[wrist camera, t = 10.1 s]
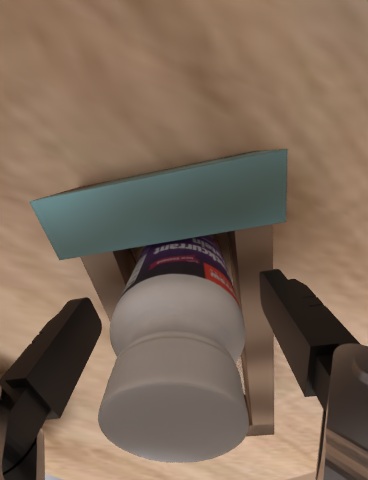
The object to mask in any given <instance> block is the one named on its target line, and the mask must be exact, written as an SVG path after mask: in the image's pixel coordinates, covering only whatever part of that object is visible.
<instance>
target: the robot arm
mask: <svg viewBox="0 0 368 480" xmlns="http://www.w3.org/2000/svg"><path fill="white" fill-rule="evenodd" d="M259 278H260V300H261V305H262V309H263V312H264V314H265V316H266V318H267V320H268V322H269V324H270V326H271V328H272V330H273V332H274V335H275V337H276V339H277V341H278V343H279V345H280V347H281V349H282V351H283V353H284V355H285V357H286V359H287V361H288V363H289V365H290V367H291V369H292V371H293V373H294V375H295V378H296V380H297V382H298V384H299V386H300V388H301V390H302V392H303V394H304V396H305V397H309V396H317V398H318V400H319V402H320V403H321V405H322V407H323V414H322V423H321V432H320V441H319V450H318V459H317V468H316V477H315V480H368V346H364V345H361V344H360V343H359V342H358V341H357V340H356V339H355V338H354V337H353V336H352V335H351V333H350V332H349V331H348V330H347V329H346V328H345V327H344V326H343V325H342V324H341V323H340V321H339V320H338V319H337V318H336V317H335V316H334V315H333V314H332V313H331V312H330V311H329V309H328V308H327V307H326V306H324V305H323V303H322V302H321V301H320V300H319V299H318V297H316V295H315V294H314V293H313V292H312V291H311V290H310V289H309V288H308V287H307V286H306V285H305V284H303V283H301V282H299V281H298V280H296V279H290V280H288V279H287V278H286V277H285V276H284V274H283V273H282V272H281V271H280V270H279V269H274V270H268V271H261V272H260V274H259ZM101 330H102V324H101V320H100V318H99V316H98V314H97V312H96V310H95V308H94V306H93V304H92V302H91V300H90V299H89V298H80V299H73V300H70V301H68V302H67V304H66V305H65V306H64V307H63V309H62V310H61V311H60V312H59V313H58V314H57V315H56V316H55V317H54V318H52V319H51V320H50V321H49V322H48V323H47V324H46V325H45V326H44V328H43V329H42V330H41V331H40V332H39V333H40V334H39V335H37V336H36V337H35V338H34V340H33V341H32V344H30V345H29V346H28V347H27V348H26V349H25V351H24V352H23V353H22V354H21V355H20V357H19V358H18V359H17V360H16V361H15V363H14V364H13V365H12V366H11V367H10V369H9V370H8V371H7V372H6V374H5V375H4V376H3V377H2V378H1V380H0V480H45V455H44V432H43V430H42V429H41V427H42V425H43V423H44V421H45V420H46V419H57V418H60V417H61V415H62V413H63V411H64V409H65V407H66V405H67V403H68V401H69V399H70V396H71V394H72V392H73V390H74V388H75V386H76V384H77V382H78V380H79V378H80V376H81V374H82V371H83V369H84V367H85V365H86V363H87V361H88V359H89V357H90V355H91V353H92V351H93V349H94V347H95V344H96V342H97V340H98V338H99V336H100V334H101Z"/></svg>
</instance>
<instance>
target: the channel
mask: <svg viewBox="0 0 368 480" xmlns="http://www.w3.org/2000/svg"><path fill="white" fill-rule="evenodd" d="M286 193H287V149H279V150H265V151H253V152H248V153H243V154H238V155H234V156H229V157H224V158H219V159H214V160H209V161H205V162H200V163H195V164H190V165H185V166H180V167H175V168H171V169H166V170H161V171H156V172H151V173H146V174H141V175H137V176H132V177H127V178H122V179H117V180H112V181H107V182H103V183H98V184H93V185H88V186H83V187H78V188H75V189H71V190H68V191H64V192H61V193H57V194H54V195H50V196H47V197H43V198H40V199H36V200H33V201H30V204H31V206H32V208H33V210H34V212H35V214H36V216H37V218H38V220H39V222H40V223H41V225H42V227H43V229H44V231H45V233H46V235H47V237H48V239H49V241H50V243H51V245H52V247H53V249H54V250H55V252H56V254H57V256H58V258H59V260H64V259H69V258H75V257H80V258H81V260H82V262H83V264H84V266H85V268H86V270H87V273H88V275H89V277H90V279H91V281H92V283H93V286H94V288H95V290H96V292H97V294H98V296H99V298H100V301H101V303H102V305H103V307H104V309H105V311H106V313H107V316H108V318H109V320H110V322H111V319H112V315H113V313H114V310H115V308H116V306H117V303H118V301H119V299H120V297H121V295H122V293H123V291H124V289H125V287H126V285H127V283H128V281H129V279H130V277H131V275H132V273H133V271H134V269H135V266H136V265H135V262H134V259H133V256H132V253H131V250H130V248H134V247H140V246H146V245H152V244H158V243H164V242H170V241H176V240H182V239H187V238H193V237H199V236H205V235H211V234H217V233H223V232H228V238H229V247H230V257H231V266H232V275H233V284H234V291H235V294H236V297H237V300H238V303H239V305H240V308H241V310H242V315H243V319H244V323H245V330H246V338H245V344H244V348H243V351H242V353H241V358H242V367H243V376H244V386H245V395H246V396H244V399H245V403H246V408H247V412H248V419H249V429H248V432H247V434H246V436H258V435H273V434H274V350H273V330H272V328H271V326H270V324H269V322H268V320H267V318H266V316H265V314H264V312H263V309H262V305H261V300H260V278H259V274H260V272H261V271H268V270H273V231H272V224H276V223H282V222H286Z"/></svg>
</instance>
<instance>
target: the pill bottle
mask: <svg viewBox="0 0 368 480" xmlns="http://www.w3.org/2000/svg"><path fill="white" fill-rule="evenodd" d="M245 338H246V330H245V323H244V319H243V315H242V310H241V308H240V305H239V303H238V300H237V297H236V294H235V291H234V289H233V286H232V283H231V280H230V276H229V274H228V271H227V268H226V265H225V261H224V258H223V255H222V252H221V249H220V247H219V244H218V242H217V240H216V239H215V237H214V236H213V235H212V234H211V235H205V236H199V237H193V238H187V239H182V240H176V241H170V242H164V243H158V244H152V245H146V246H145V248H144V250H143V252H142V254H141V256H140V258H139V260H138V262H137V264H136V266H135V269H134V271H133V273H132V275H131V277H130V279H129V281H128V283H127V285H126V287H125V289H124V291H123V293H122V295H121V297H120V299H119V301H118V303H117V306H116V308H115V310H114V313H113V315H112V319H111V323H110V339H111V344H112V347H113V350H114V352H115V354H116V356H117V359H116V362H115V366H114V368H113V370H112V373H111V376H110V378H109V381H108V384H107V387H106V390H105V393H104V396H103V399H102V402H101V405H100V409H99V414H98V421H99V426H100V428H101V430H102V432H103V433H104V435H105V436H106V437H107V438H108V440H110V441H111V442H112V443H114V444H115V445H116V446H118V447H119V448H121V449H123V450H125V451H127V452H129V453H132V454H134V455H137V456H139V457H143V458H146V459H149V460H155V461H161V462H198V461H203V460H208V459H212V458H215V457H218V456H220V455H223V454H225V453H227V452H229V451H231V450H232V449H234V448H235V447H236V446H238V445H239V444H240V443H241V442H242V441H243V440H244V438H245V436H246V434H247V432H248V429H249V419H248V412H247V408H246V403H245V399H244V394H243V389H242V384H241V378H240V374H239V371H238V369H237V367H236V362H237V361H238V359H239V357H240V356H241V353H242V351H243V348H244V344H245Z"/></svg>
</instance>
